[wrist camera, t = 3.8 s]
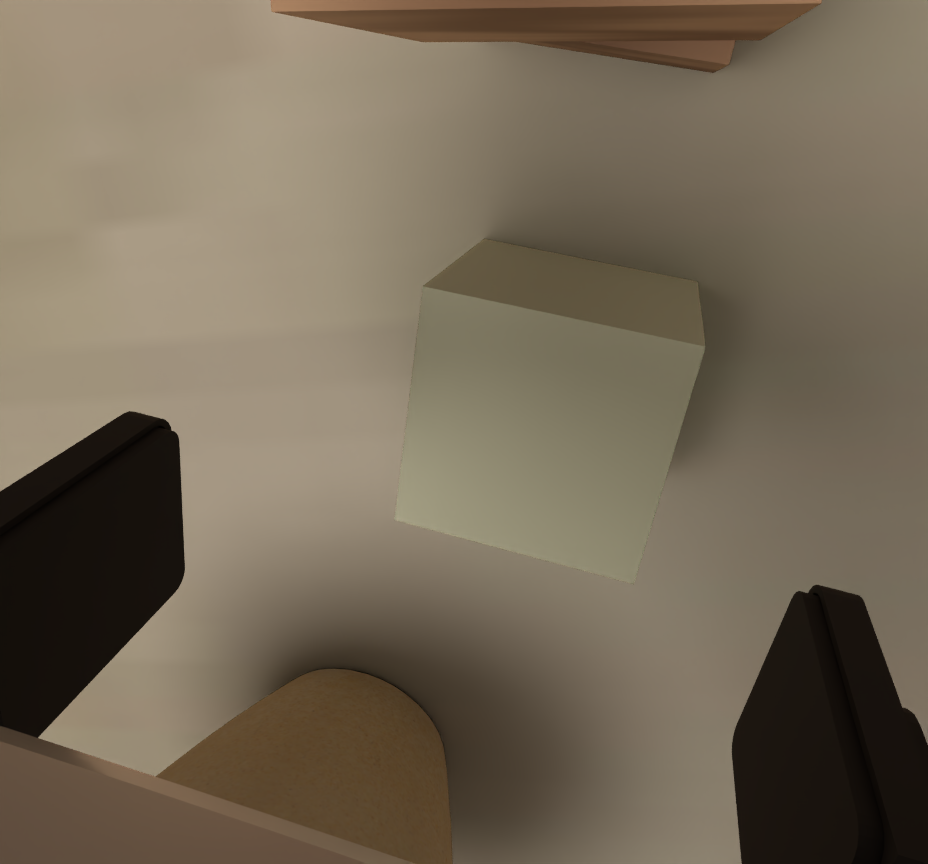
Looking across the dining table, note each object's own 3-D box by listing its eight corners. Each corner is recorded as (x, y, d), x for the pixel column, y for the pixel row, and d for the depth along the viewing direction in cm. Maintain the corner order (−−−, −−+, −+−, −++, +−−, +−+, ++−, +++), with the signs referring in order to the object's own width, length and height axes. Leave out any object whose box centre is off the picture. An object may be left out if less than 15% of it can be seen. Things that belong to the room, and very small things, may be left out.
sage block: (697, 280, 20) (705, 346, 15) (642, 471, 23) (633, 584, 18) (485, 238, 21) (422, 285, 16) (455, 426, 24) (394, 520, 19)
